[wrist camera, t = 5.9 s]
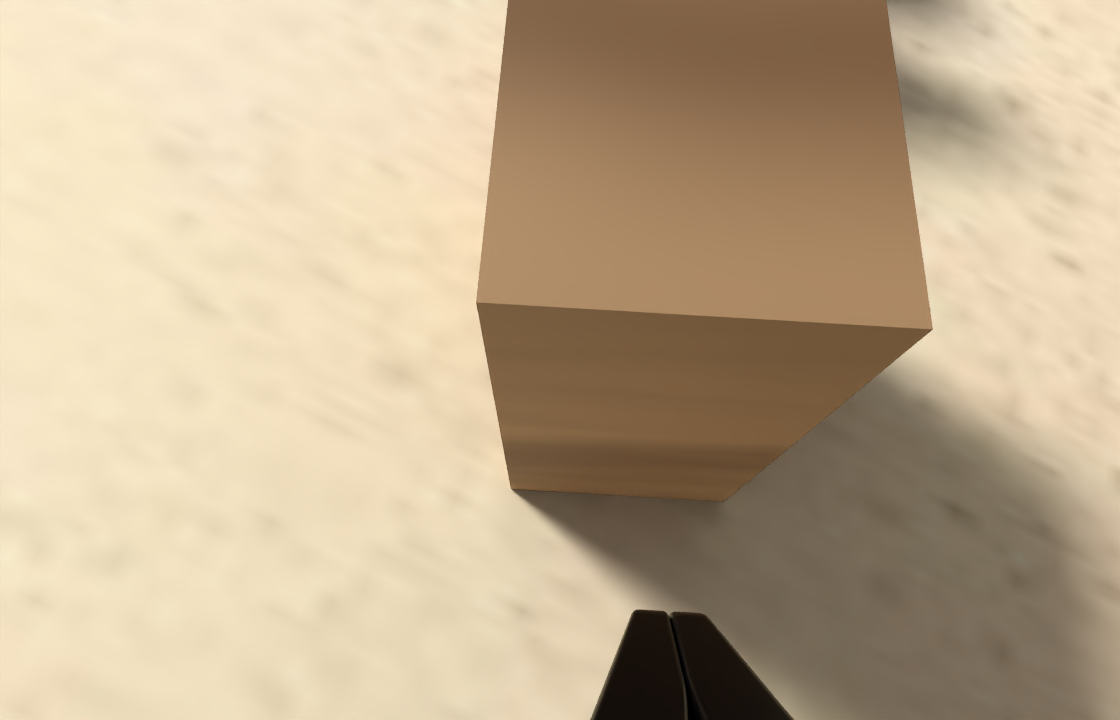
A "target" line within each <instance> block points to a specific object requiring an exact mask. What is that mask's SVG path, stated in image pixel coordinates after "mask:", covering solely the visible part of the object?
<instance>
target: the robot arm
mask: <svg viewBox="0 0 1120 720" xmlns="http://www.w3.org/2000/svg"><path fill="white" fill-rule="evenodd" d="M590 720H794V719H793V718H792V717H791V716H790V715H789V713H788V712H787V711H786V710H785V709H784V707H783V706H782V705H781V704H780V703H779V701H778V700H777V699H776V698H775V697H774V695H773V694H772V693H771V692H770V691H769V689H768V688H767V687H766V686H765V685H764V684H763V682H762V681H761V680H760V679H759V678H758V676H757V675H756V674H755V673H754V672H753V670H752V669H751V668H750V667H749V666H748V664H747V663H746V662H745V661H744V660H743V658H742V657H741V656H740V655H739V654H738V652H737V651H736V650H735V649H734V648H733V646H732V645H731V644H730V643H729V642H728V640H727V639H726V638H725V637H724V636H723V634H722V633H721V632H720V631H719V630H718V629H717V627H716V626H715V625H714V624H713V623H712V621H711V620H710V619H709V618H708V617H707V616H706V615H704V614H701V613H690V612H673V613H671V614H670V616H669V615H668V614H667V613H666V612H665V611H655V610H635V611H634V612H633V613H632V615H631V617H630V620H629V622H628V625H627V627H626V630H625V632H624V635H623V637H622V640H621V643H620V645H619V648H618V650H617V653H616V655H615V658H614V661H613V663H612V666H611V668H610V671H609V673H608V676H607V678H606V681H605V684H604V686H603V689H602V691H601V694H600V696H599V699H598V702H597V704H596V707H595V709H594V712H593V714H592V717H591V719H590Z"/></svg>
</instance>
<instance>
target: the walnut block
mask: <svg viewBox="0 0 1120 720" xmlns="http://www.w3.org/2000/svg"><path fill="white" fill-rule="evenodd" d="M476 303H477V309H478V314H479V319H480V325H481V330H482V336H483V341H484V346H485V352H486V357H487V362H488V368H489V373H490V379H491V384H492V389H493V395H494V400H495V405H496V411H497V416H498V422H499V427H500V432H501V438H502V443H503V448H504V454H505V459H506V465H507V470H508V475H509V481H510V486H511V489H518V490H535V491H552V492H569V493H586V494H603V495H620V496H637V497H655V498H672V499H689V500H706V501H723V502H724V501H725V500H726V499H728V498H729V497H730V496H731V495H732V494H734V493H735V492H736V491H737V490H739V489H740V488H741V487H742V486H743V485H745V484H746V483H747V482H748V481H749V480H751V479H752V478H753V477H754V476H755V475H757V474H758V473H759V472H760V471H762V470H763V469H764V468H765V467H766V466H768V465H769V464H770V463H771V462H772V461H774V460H775V459H776V458H777V457H779V456H780V455H781V454H782V453H783V452H785V451H786V450H787V449H788V448H789V447H791V446H792V445H793V444H794V443H795V442H797V441H798V440H799V439H800V438H802V437H803V436H804V435H805V434H806V433H808V432H809V431H810V430H811V429H812V428H814V427H815V426H816V425H817V424H819V423H820V422H821V421H822V420H823V419H825V418H826V417H827V416H828V415H829V414H831V413H832V412H833V411H834V410H836V409H837V408H838V407H839V406H840V405H842V404H843V403H844V402H845V401H846V400H848V399H849V398H850V397H851V396H852V395H854V394H855V393H856V392H857V391H859V390H860V389H861V388H862V387H863V386H865V385H866V384H867V383H868V382H869V381H871V380H872V379H873V378H874V377H876V376H877V375H878V374H879V373H880V372H882V371H883V370H884V369H885V368H886V367H888V366H889V365H890V364H891V363H893V362H894V361H895V360H896V359H897V358H899V357H900V356H901V355H902V354H903V353H905V352H906V351H907V350H908V349H909V348H911V347H912V346H913V345H914V344H916V343H917V342H918V341H919V340H920V339H922V338H923V337H924V336H925V335H926V334H928V333H929V332H930V331H931V330H933V328H932V321H931V314H930V307H929V300H928V293H927V286H926V279H925V272H924V265H923V258H922V251H921V243H920V236H919V229H918V222H917V215H916V208H915V201H914V194H913V187H912V180H911V173H910V166H909V159H908V152H907V145H906V138H905V131H904V124H903V116H902V109H901V102H900V95H899V88H898V81H897V74H896V67H895V60H894V53H893V46H892V39H891V32H890V25H889V18H888V11H887V4H886V0H508V8H507V17H506V27H505V36H504V46H503V55H502V65H501V74H500V84H499V93H498V102H497V112H496V121H495V131H494V140H493V150H492V159H491V168H490V178H489V187H488V197H487V206H486V216H485V225H484V235H483V244H482V253H481V263H480V272H479V282H478V291H477V301H476Z"/></svg>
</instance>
